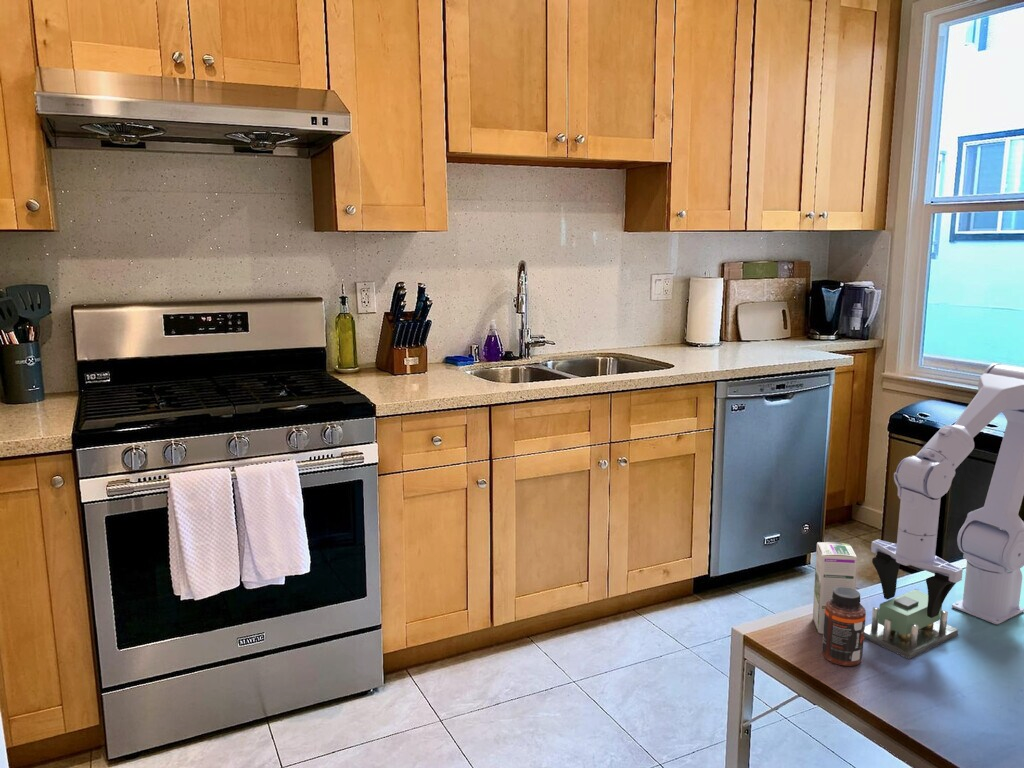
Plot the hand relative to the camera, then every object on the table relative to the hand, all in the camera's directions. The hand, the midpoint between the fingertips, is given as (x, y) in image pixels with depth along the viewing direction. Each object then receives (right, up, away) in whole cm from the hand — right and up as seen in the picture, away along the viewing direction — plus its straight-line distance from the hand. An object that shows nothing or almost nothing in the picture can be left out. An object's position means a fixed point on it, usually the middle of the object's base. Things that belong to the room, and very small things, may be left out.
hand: (910, 606), depth 129 cm
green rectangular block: (0, -3, 0) cm, 3 cm away
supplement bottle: (-14, -7, -6) cm, 16 cm away
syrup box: (-12, -5, +4) cm, 13 cm away
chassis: (0, -5, +1) cm, 5 cm away
